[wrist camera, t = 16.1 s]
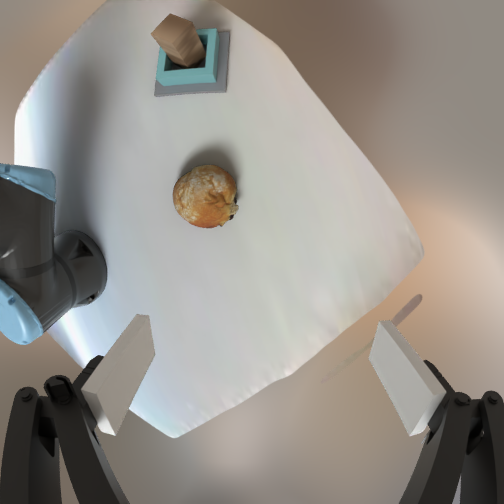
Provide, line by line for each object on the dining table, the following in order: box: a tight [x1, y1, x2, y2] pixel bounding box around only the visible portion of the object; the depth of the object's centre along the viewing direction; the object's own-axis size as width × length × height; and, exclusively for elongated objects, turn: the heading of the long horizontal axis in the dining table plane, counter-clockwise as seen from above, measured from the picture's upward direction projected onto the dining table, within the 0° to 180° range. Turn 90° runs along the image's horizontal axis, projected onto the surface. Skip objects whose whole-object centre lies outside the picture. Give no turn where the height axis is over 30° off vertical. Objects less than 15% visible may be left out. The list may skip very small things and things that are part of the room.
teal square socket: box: [154, 28, 230, 97], centre depth 35 cm, size 12×12×5 cm
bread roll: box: [173, 165, 238, 228], centre depth 42 cm, size 10×10×8 cm
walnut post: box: [151, 14, 206, 69], centre depth 31 cm, size 4×4×12 cm
